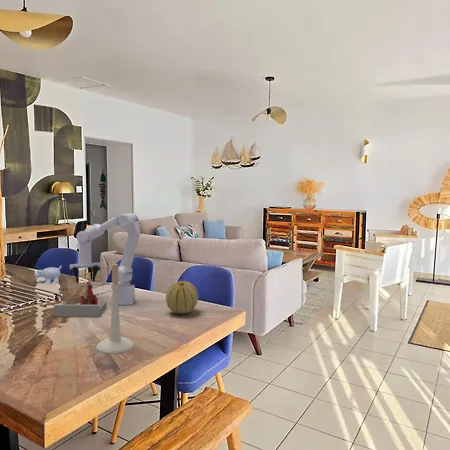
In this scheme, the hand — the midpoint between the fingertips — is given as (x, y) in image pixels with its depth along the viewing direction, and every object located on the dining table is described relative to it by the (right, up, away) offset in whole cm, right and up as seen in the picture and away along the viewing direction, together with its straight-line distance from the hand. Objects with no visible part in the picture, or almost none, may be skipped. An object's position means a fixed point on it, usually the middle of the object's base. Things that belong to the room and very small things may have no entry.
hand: (85, 281), depth 205 cm
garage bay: (+5, -11, -21) cm, 24 cm away
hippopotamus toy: (-34, -5, +37) cm, 50 cm away
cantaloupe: (+50, -12, -19) cm, 55 cm away
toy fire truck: (+5, -10, -9) cm, 14 cm away
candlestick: (+31, -15, -60) cm, 69 cm away
